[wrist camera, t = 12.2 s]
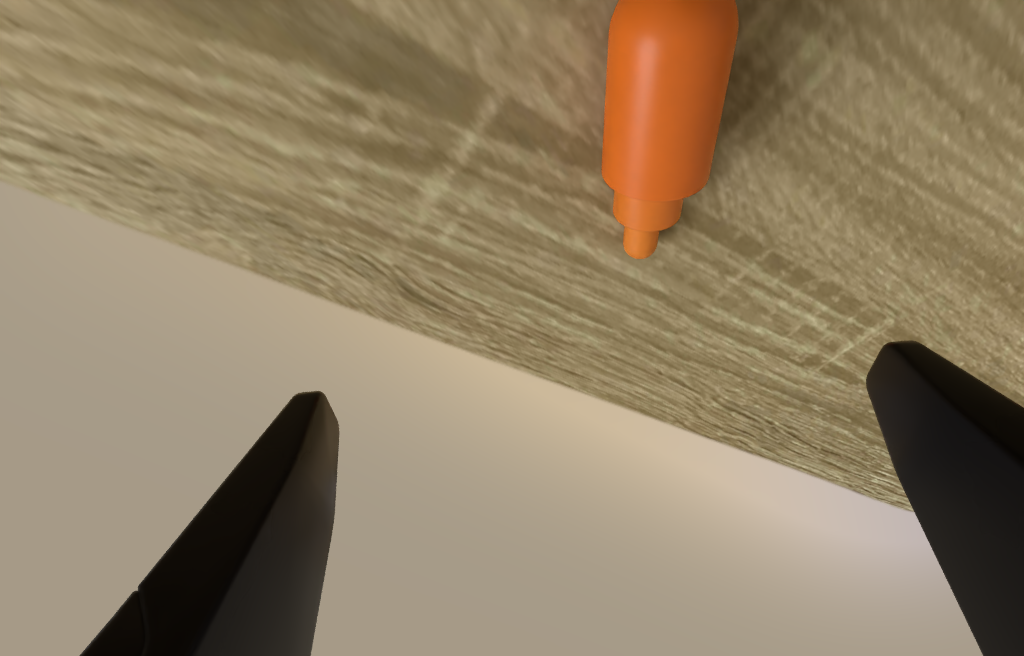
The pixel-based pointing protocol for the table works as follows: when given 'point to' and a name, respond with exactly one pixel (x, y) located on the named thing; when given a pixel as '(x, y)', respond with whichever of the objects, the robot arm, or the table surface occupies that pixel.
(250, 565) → the robot arm
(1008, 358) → the table surface
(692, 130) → the carrot
